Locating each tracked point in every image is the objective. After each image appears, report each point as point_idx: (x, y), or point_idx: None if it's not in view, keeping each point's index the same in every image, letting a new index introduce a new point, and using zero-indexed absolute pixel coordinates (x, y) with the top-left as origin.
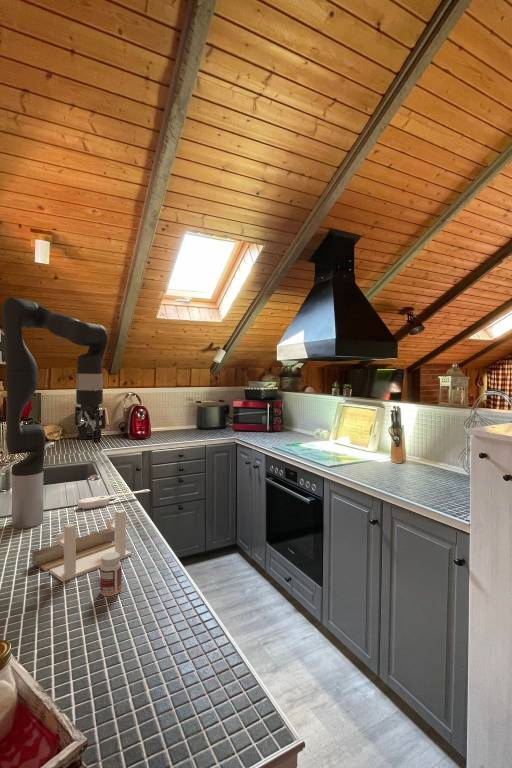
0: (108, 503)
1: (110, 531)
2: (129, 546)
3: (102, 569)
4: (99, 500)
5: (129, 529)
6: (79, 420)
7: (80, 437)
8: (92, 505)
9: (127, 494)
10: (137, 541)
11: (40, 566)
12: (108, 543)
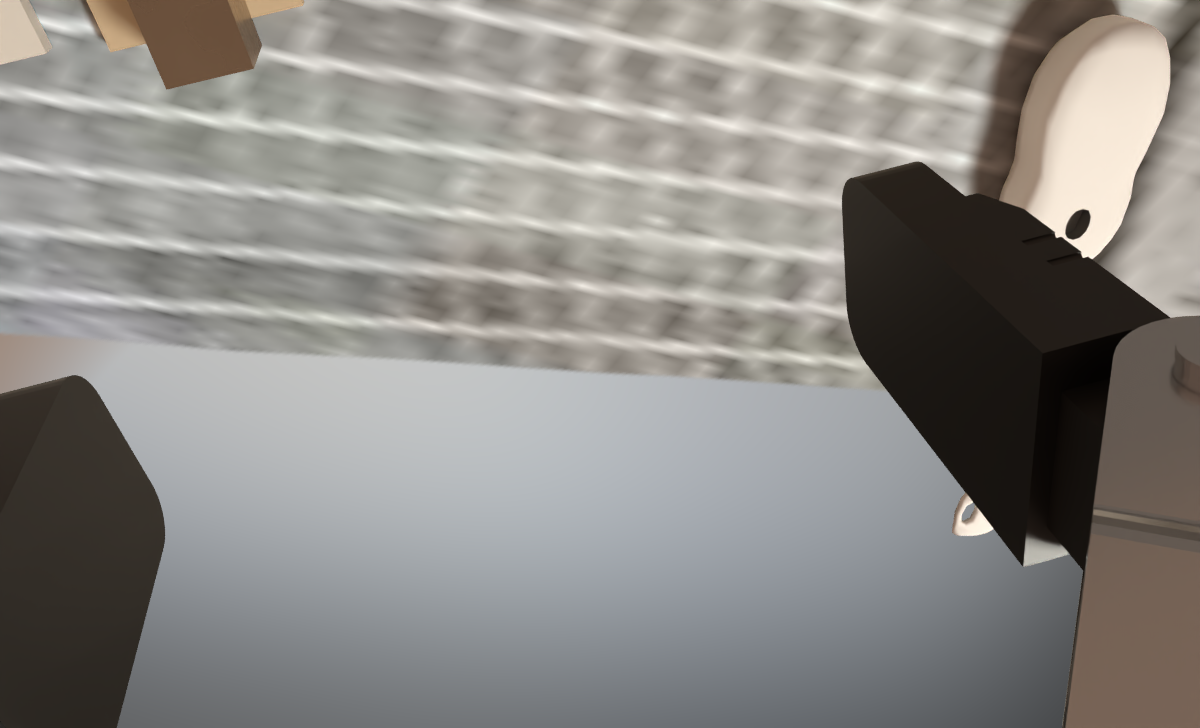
0: None
1: (165, 54)
2: (53, 134)
3: None
4: (1035, 190)
5: (403, 229)
6: (1168, 591)
7: (873, 212)
8: (1026, 122)
9: None
10: (130, 211)
11: None
12: None
